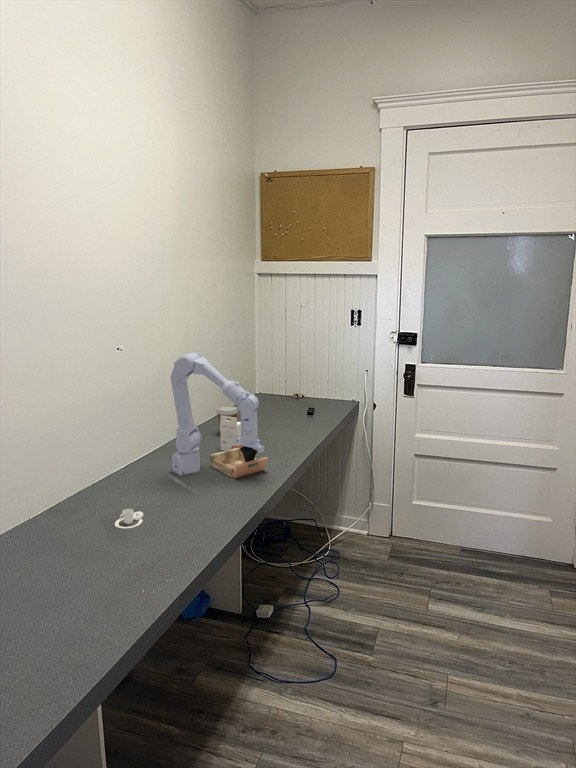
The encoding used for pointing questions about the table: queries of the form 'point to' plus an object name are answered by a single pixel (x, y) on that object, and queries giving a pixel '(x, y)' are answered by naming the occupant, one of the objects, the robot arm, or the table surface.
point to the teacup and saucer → (129, 518)
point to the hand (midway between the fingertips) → (250, 466)
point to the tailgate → (250, 467)
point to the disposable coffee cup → (227, 411)
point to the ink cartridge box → (229, 433)
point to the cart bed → (227, 461)
